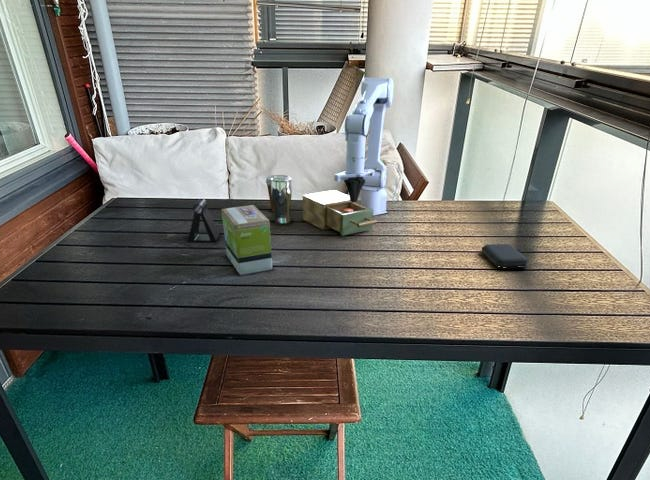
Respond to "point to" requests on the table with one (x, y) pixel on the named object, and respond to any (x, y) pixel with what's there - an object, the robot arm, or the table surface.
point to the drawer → (349, 218)
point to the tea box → (247, 239)
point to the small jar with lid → (347, 211)
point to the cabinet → (321, 206)
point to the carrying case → (504, 256)
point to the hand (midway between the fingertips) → (353, 201)
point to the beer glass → (281, 199)
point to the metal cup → (268, 182)
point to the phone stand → (208, 223)
